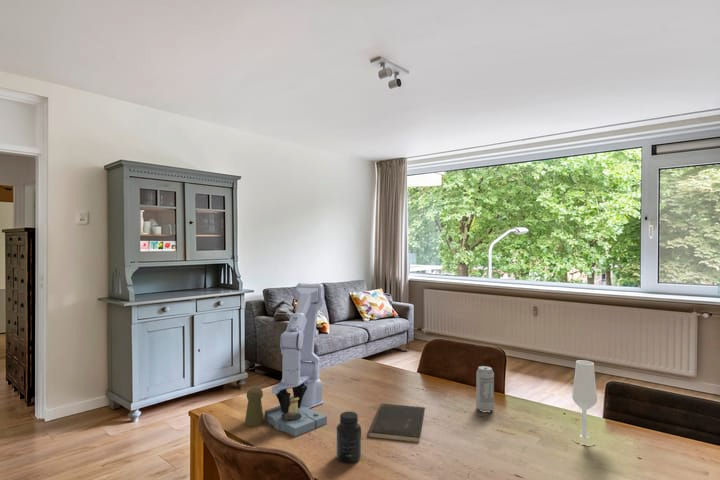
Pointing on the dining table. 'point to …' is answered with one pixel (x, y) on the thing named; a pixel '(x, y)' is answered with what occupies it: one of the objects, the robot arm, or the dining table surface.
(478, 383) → the energy drink can
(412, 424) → the hardcover book
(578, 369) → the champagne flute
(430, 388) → the dining table surface
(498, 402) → the dining table surface
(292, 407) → the cylinder
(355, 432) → the supplement bottle
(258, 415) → the olive green tapered piece
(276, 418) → the block
